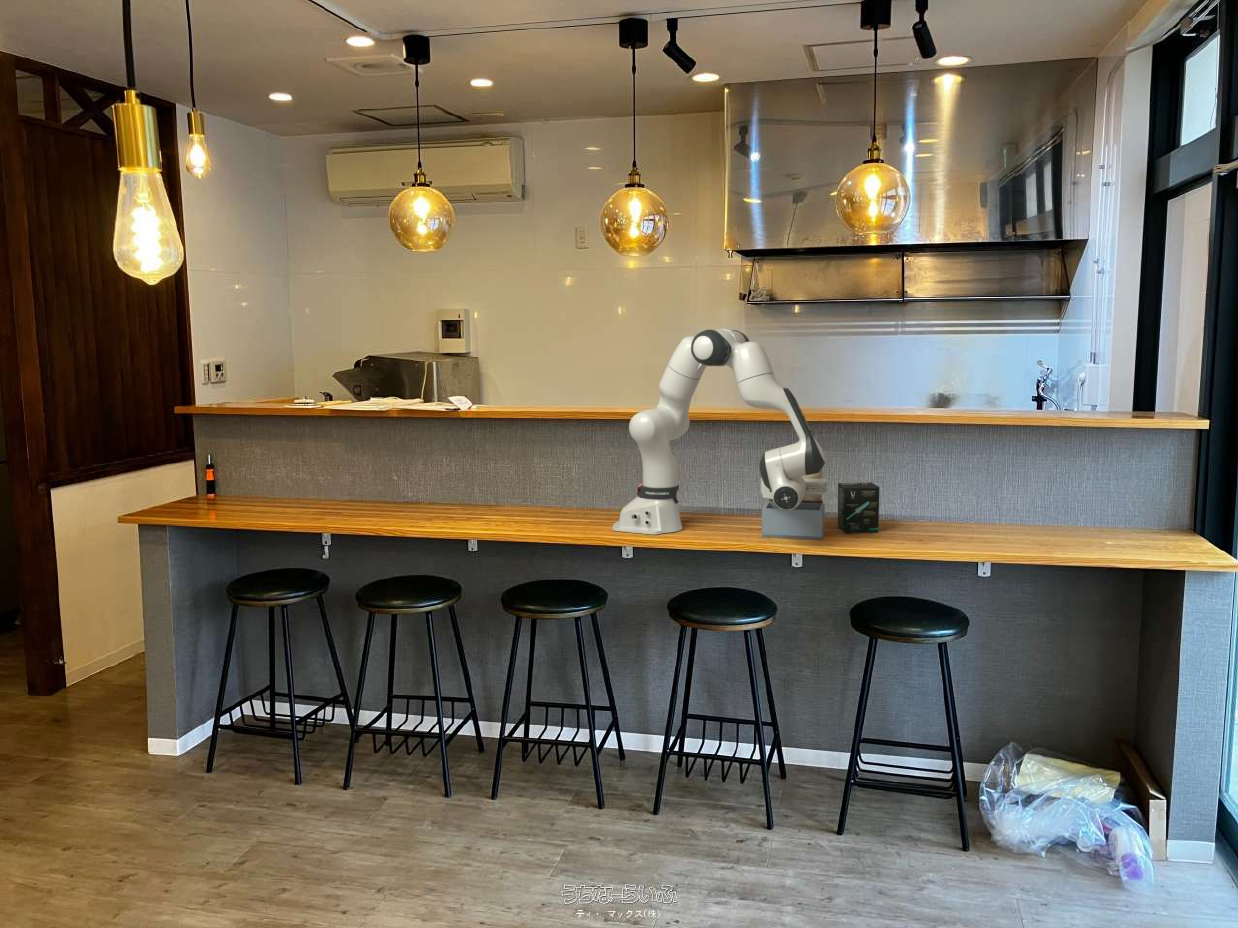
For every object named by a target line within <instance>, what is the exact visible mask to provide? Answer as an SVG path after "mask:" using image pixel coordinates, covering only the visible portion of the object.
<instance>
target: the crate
mask: <svg viewBox="0 0 1238 928" xmlns="http://www.w3.org/2000/svg"><path fill="white" fill-rule="evenodd" d="M825 506H826V504H825V503H824V502H823V503H800V505H799V506H797V507H796V508H794V509H792V510H782V509H780V508H778V507H777V506H776V505H775V503H774V502H771V501H769V500H768V501H766V502H765V503H764V505H763V506H762V508H761V538H765V537H777V538H776V539H786V538H787V539H790V540H805V541H807V540H808V541H822V540H823V538H824V534H825V518H826V517H825V515H826V514H825V513H826V512H825V510H826V507H825Z"/></svg>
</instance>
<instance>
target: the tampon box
mask: <svg viewBox="0 0 1238 928" xmlns="http://www.w3.org/2000/svg"><path fill="white" fill-rule="evenodd" d="M879 513H880V486H878V485H876V484H875V483H873V482H868V481H867V482H844V483H843V482H841V483H840V482H838V483H837V527H838V528H839V530H840V531H842V533H844V534H869V533H870V534H871V533H873V534H874V533H875V534H876V533H879V519H880V514H879Z"/></svg>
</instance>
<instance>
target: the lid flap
mask: <svg viewBox="0 0 1238 928" xmlns="http://www.w3.org/2000/svg"><path fill="white" fill-rule="evenodd" d="M772 449H773V448H770V450H772ZM801 477H802V478H804V479H823V468H822V469H821V470H820V471H819V473H816V474H811V475H804V476H801ZM768 501H771V502H774V501H773V499H768ZM823 501H824V500H823V494H805V496H804V498H803V500H802V502H801V503H823V504H824V502H823Z"/></svg>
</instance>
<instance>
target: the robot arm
mask: <svg viewBox="0 0 1238 928" xmlns="http://www.w3.org/2000/svg"><path fill="white" fill-rule="evenodd" d="M749 339H750V338H748V336H747V335H746V334H745V333H744V332H741V331H739V330H738V329H737V330H736V329H728V328H717V329H706V330H705V329H704V330H702V331H700V332H698V333H697V334H696V335H688V336H685V337H683V338H682V339H681V341H680V342H679V343H678V345H677V346H676V347H675V350H674V351H673V353H672V355H671V357H670V358H669V361H668V363H667V365H666V367H665V369H664V372H663V374H662V377H661V378H660V381H659V383H658V390H659V392H660V393H659V394H660V396H659V400H658V404H657V405H656V406H655V407H652V408H647V409H643V410H641V411H639V412H637V413H636V414H635V415H633V416H632V417H631V419H630V421H629V425H628V430H629V434H630V436H631V438H632V439H633V440H634V441H635V442H636V444H637V446H638V449H639V452H640V457H641V462H642V483H640V484H638V487H636V489H635V491H636V497H635V498H634V499H632V500H631V501H629V502H628V503H627V504H626V505H624V506H623V507H622V508H621V510H620V514H619V520H617V521H616V522H615V523H613V525H612V528H611V529H612V531H614V532H624V533H632V534H634V533H635V534H645V535H655V536H656V535H660V534H668V533H675V532H679V531H682V530H683V528H684V527H683V525H682V519H681V515H680V507H679V502H680V485H679V484H678V481H679V480H678V475H679V474H678V469H679V468H678V464H679V463H678V461H677V458H676V457H675V456H674V455H673V453H672V448H671V444H670V441H672V440H673V441H674V440H677V439H678V438H681V437H682V436H683V435H685V434H686V433H687V432H688V430H689V428H690V423H691V421H690V416H689V411H690V405H691V402H692V399H693V396H694V393H696V392H695V391H696V389H697V387H698V385H699V383H700V381H701V378H702V377H703V374H704V372H705V369H706V368H707V367H725V366H727V367H729V368H730V369H731V370H732V372H733V374H734V378H735V380H736V381H735V382H736V384H737V385H736V386H737V388H738V391H739V393H740V396H741V398H742V400H743V402H744V403H745V404H746V405H748V406H750V407H751V408H755V409H761V410H771V411H772V410H774V411H780V412H783V413H784V414H786V415H787V416H788V419H789V421H790V422H791V424H792V426H793V429H794V431H795V433H796V435H797V437H798V438H799V440H798V441H796V442H795V443H792V444H788V445H784V446H781V447H777V448H771V449H772V450H771V449H770V450H767V451H764V452H763V454H762V455H761V457H760V459H759V472H760V476H761V477H760V483H759V484H760V485H759V489H760V494H762V498H764V499H768V500H769V499H773V501H774V503H775V505H776V506H777V507H778V508H780V509H782V510H792V509H794V508H796V507H797V506H799V505H800V503H801V502H802V500H803V498H804V496H805V494H822V495H823V494H825V493H826V492H828V480H827V479H825V478H822V479H804V478H802V477H801V476H804V475H811V474H816V473H819V471H820V470H821V469H822V470H823V468H824V466H825V464H826V456H825V452H824V450H823V448H822V446H821V444H820V443H819V441H818V440H816V436H815V435H814V433H813V432H812V429H811V427H810V425H809V423H808V421H807V419H806V417H805V415H804V412H803V411H802V409H801V407H800V405H799V403H798V401H797V399H796V397H795V396H794V393H792V391H791V390H790V389H789V388H788V387H783V385H780V383H779V382H778V380H777V379H776V376H775V374H774V370H773V367H772V364H771V361H770V359H769V357H768V354H767V352H766V351H765V348H764V347H763V345H762V344H761V343H759V342H757V341H750V340H749Z"/></svg>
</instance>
